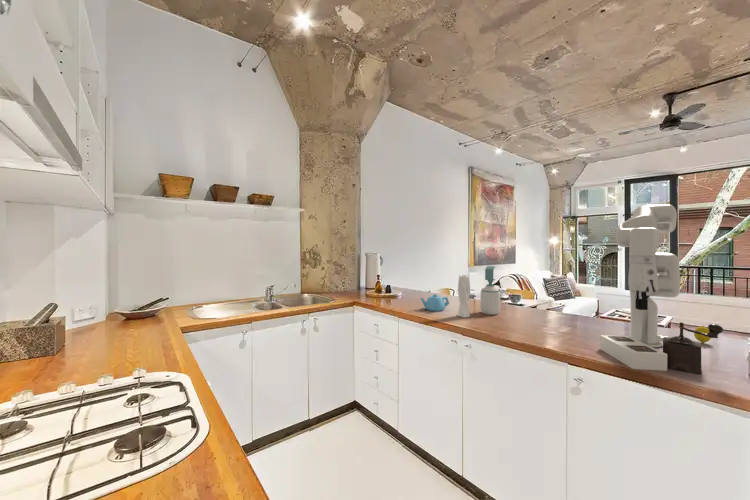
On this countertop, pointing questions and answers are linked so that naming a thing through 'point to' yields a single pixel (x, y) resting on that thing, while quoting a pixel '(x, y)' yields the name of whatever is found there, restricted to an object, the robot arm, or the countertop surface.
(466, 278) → the twisted white vase
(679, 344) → the coffee grinder
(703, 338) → the lemon
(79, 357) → the countertop surface
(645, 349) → the peg
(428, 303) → the teapot
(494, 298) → the soap bottle
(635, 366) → the peg block
